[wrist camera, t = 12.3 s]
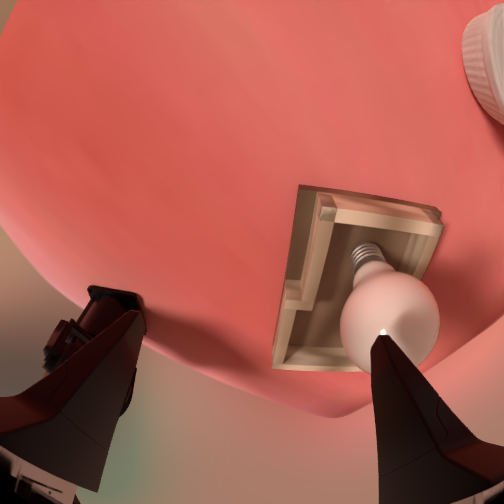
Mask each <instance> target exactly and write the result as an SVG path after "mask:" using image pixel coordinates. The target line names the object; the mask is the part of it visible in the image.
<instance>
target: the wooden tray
mask: <svg viewBox="0 0 504 504" xmlns="http://www.w3.org/2000/svg"><path fill="white" fill-rule="evenodd" d="M440 215H441V212H440V211H439V210H438V209H437V208H436V207H433V206H428V205H423V204H418V203H413V202H408V201H403V200H398V199H393V198H387V197H381V196H376V195H370V194H364V193H357V192H351V191H344V190H337V189H330V188H323V187H315V186H307V185H299V186H298V193H297V201H296V208H295V215H294V221H293V228H292V235H291V241H290V248H289V254H288V260H287V266H286V272H285V278H284V284H283V290H282V296H281V302H280V307H279V313H278V318H277V324H276V329H275V334H274V340H273V352H272V369H284V370H302V371H337V372H354V371H362V370H361V369H359V368H358V367H357V366H356V365H355V364H354V363H353V362H352V361H351V360H350V359H349V357H348V356H347V354H346V352H345V350H344V348H343V346H342V342H341V338H340V328H339V327H340V317H341V313H342V310H343V307H344V305H345V302H346V300H347V299H348V297H349V295H350V294H351V292H352V291H353V280H354V275H353V271H352V268H351V265H350V262H349V255H350V253H351V251H352V250H353V249H354V248H355V247H356V246H357V245H359V244H361V243H365V242H371V243H374V244H376V245H377V246H378V247H379V248H380V251H381V252H382V255H383V257H384V259H385V261H386V262H387V263H388V264H389V265H391V266H392V267H393V268H394V269H395V270H396V271H398V272H403V273H406V274H409V275H411V276H413V277H415V278H417V279H419V280H420V281H421V279H422V277H423V275H424V272H425V270H426V268H427V266H428V264H429V261H430V259H431V257H432V254H433V252H434V250H435V247H436V245H437V242H438V240H439V237H440V235H441V232H442V229H443V227H444V225H443V224H442V223H441V222H440V221H439V218H440Z"/></svg>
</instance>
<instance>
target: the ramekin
mask: <svg viewBox="0 0 504 504" xmlns="http://www.w3.org/2000/svg"><path fill="white" fill-rule="evenodd" d="M462 60H463V65H464V70H465V73H466V76H467V79H468V82H469V84H470V87H471V89H472V91H473V93H474V95H475V97H476V98H477V100H478V102H479V103H480V104H481V106H482V107H483V109H484V110H485V111H486V112H487V113H488V114H489V115H490V116H491V117H492V118H494V119H495V120H497V121H498V122H500V123H501V124H503V125H504V3H501V4H497V5H495V6H493V7H492V8H491V9H490V10H489V11H487V12H485V13H482V14H480V15H478V16H476V17H475V18H473V19H472V20H471V21H470V22H469V23H468V25H467V26H466V28H465V31H464V33H463V37H462Z"/></svg>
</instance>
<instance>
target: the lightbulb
mask: <svg viewBox="0 0 504 504" xmlns="http://www.w3.org/2000/svg"><path fill="white" fill-rule="evenodd" d="M349 262H350V265H351V268H352V271H353V275H354V280H353V291H352V292H351V294H350V295H349V297H348V299H347V300H346V302H345V305H344V307H343V310H342V313H341V317H340V327H339V328H340V338H341V342H342V346H343V348H344V350H345V352H346V354H347V356H348V357H349V359H350V360H351V361H352V362H353V363H354V364H355V365H356V366H357V367H358V368H359V369H361V370H362V371H364V372H366V373H368V374H371V360H370V350H371V347H372V345H373V343H374V342H375V340H376V338H377V336H378V335H389V336H390V337H391V338H392V339H393V340H394V341H395V343H396V344H397V345H398V346H399V347H400V348H401V350H402V351H403V352H404V353H405V354H406V355H407V357H408V358H409V359H410V360H411V361H412V363H413V364H414V365H415V366H416V367H418V366H419V365H420V364H421V363H422V362H423V361H424V360H425V359H426V358H427V357H428V356H429V354H430V353H431V351H432V350H433V348H434V346H435V344H436V341H437V338H438V335H439V330H440V313H439V308H438V305H437V302H436V299H435V297H434V296H433V294H432V292H431V291H430V290H429V288H428V287H427V286H426V285H425V284H424V283H423V282H421V281H420V280H419V279H417V278H415V277H413V276H411V275H409V274H406V273H403V272H398V271H396V270H395V269H394V268H393V267H392V266H391V265H389V264H388V263H387V262H386V261H385V259H384V257H383V255H382V252H381V251H380V248H379V247H378V246H377V245H376V244H374V243H371V242H365V243H361V244H359V245H357V246H356V247H355V248H354V249H353V250H352V251H351V253H350V255H349Z"/></svg>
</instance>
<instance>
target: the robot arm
mask: <svg viewBox="0 0 504 504" xmlns="http://www.w3.org/2000/svg"><path fill="white" fill-rule="evenodd" d="M87 291H88V293H89V296H90V298H91V300H90V301H89V303H88V304H87V306H86V308H85V309H84V311H83V312H82V314H81V315H80V317H79V318H78V320H77V322H75V320H74V319H72V318H71V319H70V321H69V322H68V321H65V320H61V321H60V322H59V324H58V325H57V327H56V328H55V330H54V331H53V333H52V335H51V336H50V338H49V340H48V342H47V344H46V345H45V347H44V349H43V351H44V355H45V357H44V363H43V365H42V368H43V369H44V370H46V372H45V374H44V376H43V378H42V379H41V380H40V381H38V382H37V383H35V384H34V385H32V386H31V387H29V388H28V389H26V390H25V391H23V392H22V393H20V394H18V395H15V396H11V397H0V504H80V502H79V500H78V498H77V496H76V494H75V492H76V488H77V486H80V487H83V488H86V489H88V490H91V491H94V492H98V489H99V485H100V481H101V477H102V473H103V469H104V466H105V462H106V458H107V455H108V450H109V447H110V444H111V440H112V437H113V434H114V430H115V427H116V424H117V421H118V419H119V417H120V416H121V415H123V413H124V412H125V411H126V410H127V408H128V406H129V404H130V402H131V399H132V394H133V388H134V382H135V376H136V371H137V368H136V364H137V360H138V356H139V351H140V348H141V344H142V340H143V336H144V335H146V333H147V329H146V324H145V321H144V317H143V314H142V312H141V309H140V306H139V302H138V298H137V296H136V295H135V294H134V293H130V292H124V291H118V290H113V289H107V288H102V287H97V286H91V285H90V286H89V287H88V288H87ZM370 360H371V389H372V397H373V406H374V414H375V424H376V436H377V451H378V473H379V504H504V447H503V446H499V445H495V444H491V443H487V442H484V441H481V440H480V439H478V438H477V437H476V436H474V434H473V433H472V432H471V431H470V430H469V429H468V428H467V427H466V426H465V425H464V424H463V423H462V422H461V421H460V419H459V418H458V417H457V416H456V415H455V414H454V413H453V412H452V411H451V409H450V408H449V407H448V406H447V405H446V403H445V402H444V401H443V400H442V398H441V397H439V395H438V393H437V392H436V391H435V390H434V388H433V387H432V386H431V385H430V384H429V382H428V381H427V380H426V378H425V377H424V376H423V375H422V374H421V372H420V371H419V370H418V369H417V367H416V366H415V365H414V364H413V363H412V361H411V360H410V359H409V358H408V357H407V355H406V354H405V353H404V352H403V351H402V350H401V348H400V347H399V346H398V345H397V344H396V343H395V341H394V340H393V339H392V338H391V337H390V336H389V335H378V336H377V338H376V340H375V342H374V343H373V345H372V347H371V350H370Z"/></svg>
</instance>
